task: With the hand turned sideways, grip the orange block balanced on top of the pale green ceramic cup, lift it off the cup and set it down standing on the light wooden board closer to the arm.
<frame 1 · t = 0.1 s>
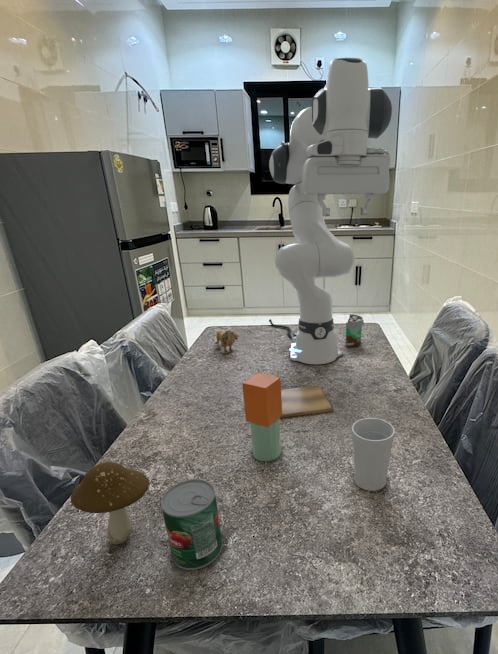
hand: (345, 215, 90), 48 cm above the table, tool pointing down, fingers open, 8 cm apart
canned tomato: (198, 549, 62), on the table
mushroom: (125, 539, 64), on the table
green cup: (267, 452, 85), on the table
orange block: (264, 418, 82), point 9 cm above the table, touching green cup
cup: (370, 480, 77), on the table
lion figurine: (226, 350, 145), on the table
wooden board: (300, 402, 107), on the table
food container: (355, 343, 149), on the table
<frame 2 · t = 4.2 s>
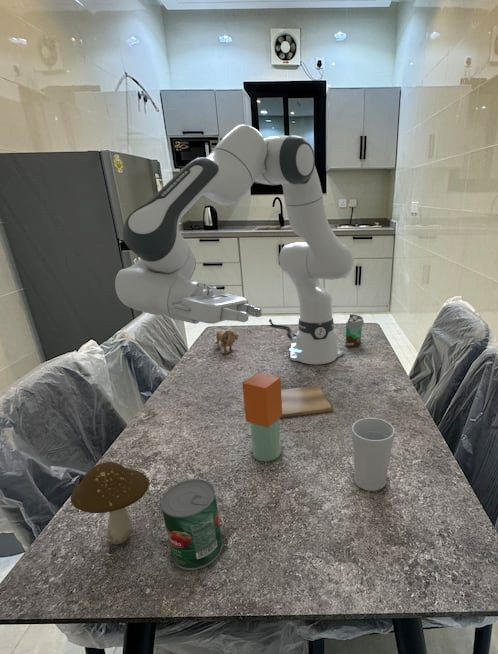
hand: (254, 315, 79), 30 cm above the table, tool horizontal, fingers open, 8 cm apart
nothing on the table moved.
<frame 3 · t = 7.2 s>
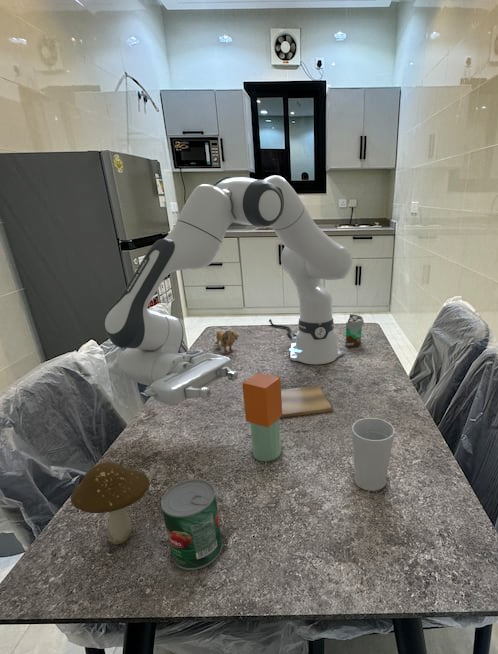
hand: (222, 384, 84), 15 cm above the table, tool horizontal, fingers open, 8 cm apart
nothing on the table moved.
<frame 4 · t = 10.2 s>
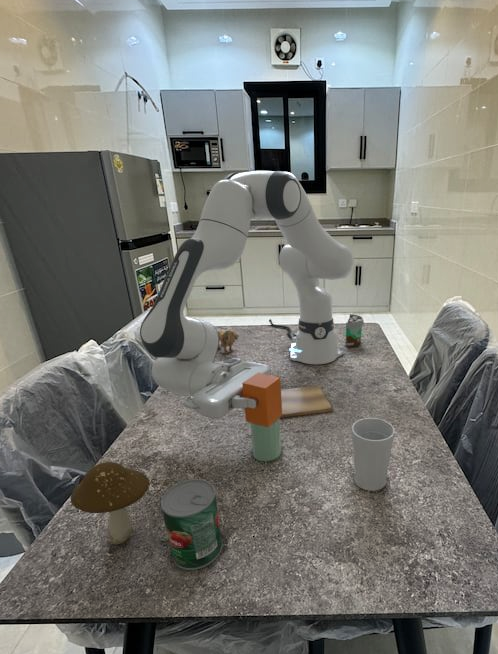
hand: (266, 396, 79), 15 cm above the table, tool horizontal, fingers closed on orange block, 5 cm apart
orange block: (264, 418, 82), point 9 cm above the table, touching green cup, gripper
everything else where it was.
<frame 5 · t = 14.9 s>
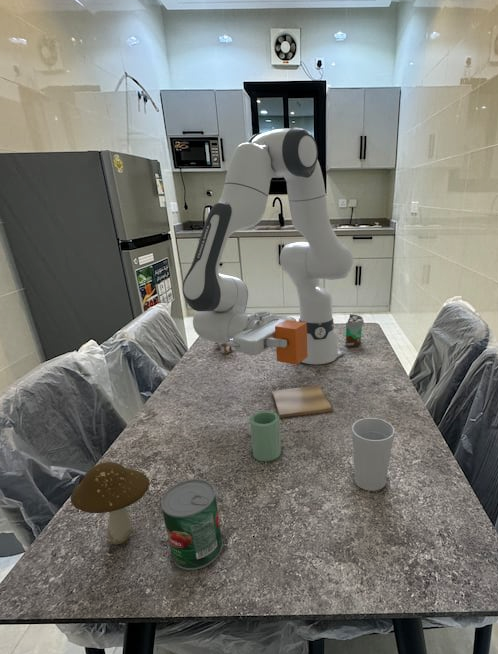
hand: (294, 338, 93), 21 cm above the table, tool horizontal, fingers closed on orange block, 5 cm apart
orange block: (292, 359, 95), point 15 cm above the table, touching gripper
everything else where it was.
when the fingers open (6 cm above the table, at t = 20.1 s): orange block stays where it is, resting on wooden board.
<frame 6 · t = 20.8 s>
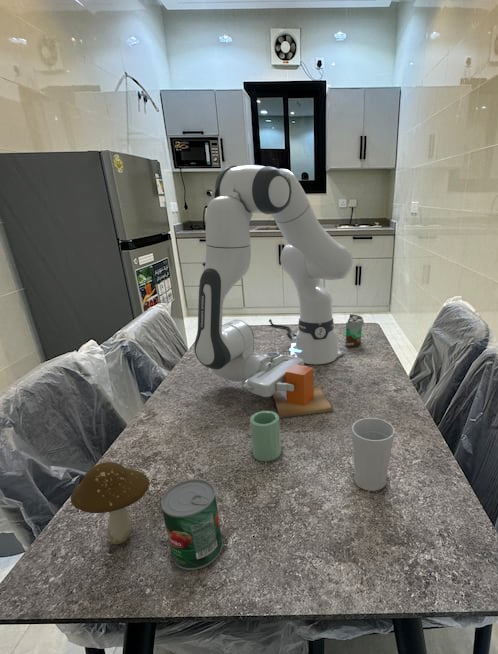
hand: (303, 380, 103), 7 cm above the table, tool horizontal, fingers open, 8 cm apart
orange block: (300, 399, 106), point 1 cm above the table, touching wooden board
everything else where it was.
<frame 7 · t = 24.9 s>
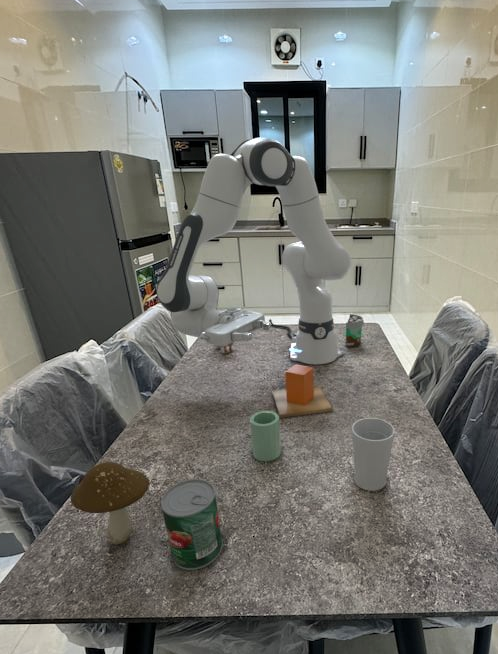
hand: (260, 331, 104), 19 cm above the table, tool horizontal, fingers open, 8 cm apart
nothing on the table moved.
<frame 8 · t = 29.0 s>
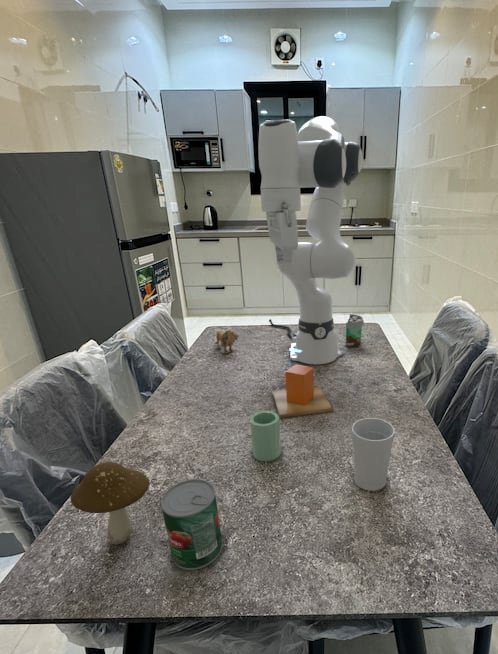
hand: (283, 265, 92), 37 cm above the table, tool pointing down, fingers open, 8 cm apart
nothing on the table moved.
at the end: orange block inside the target area on the wooden board (0.1 cm from its centre), point 1.0 cm above the wooden board's base; orange block tilted 0°; orange block touching wooden board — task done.
